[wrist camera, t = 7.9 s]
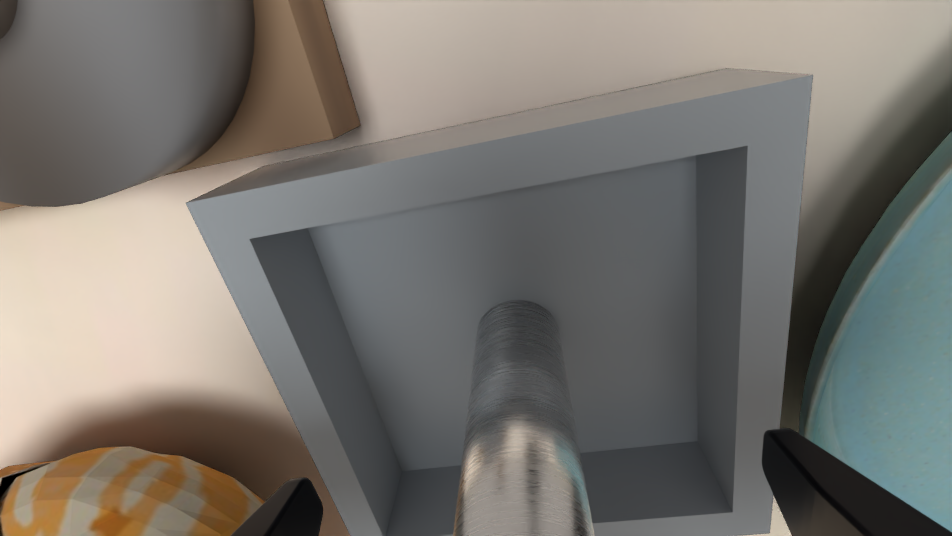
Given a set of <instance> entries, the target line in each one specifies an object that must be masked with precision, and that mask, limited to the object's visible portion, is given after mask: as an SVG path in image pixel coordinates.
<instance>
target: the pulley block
mask: <svg viewBox="0 0 952 536" xmlns="http://www.w3.org/2000/svg"><path fill="white" fill-rule="evenodd" d="M358 126H360V122H359V118H358V115H357V112H356V109H355V105H354V102H353V99H352V96H351V92H350V89H349V86H348V82H347V79H346V76H345V73H344V69H343V66H342V63H341V59H340V56H339V53H338V50H337V46H336V43H335V40H334V37H333V33H332V30H331V27H330V23H329V20H328V17H327V14H326V10H325V7H324V4H323V0H0V211H1V210H5V209H10V208H15V207H19V206H24V205H26V206H47V207H58V206H66V205H73V204H81V203H85V202H88V201H91V200H95V199H98V198H101V197H105V196H107V195H110V194H113V193H116V192H119V191H121V190H124V189H127V188H130V187H132V186H135V185H138V184H141V183H143V182H146V181H149V180H152V179H154V178H157V177H160V176H163V175H168V174H172V173H177V172H182V171H186V170H191V169H196V168H200V167H205V166H210V165H214V164H219V163H223V162H228V161H233V160H237V159H242V158H247V157H251V156H256V155H261V154H265V153H270V152H274V151H279V150H284V149H288V148H293V147H298V146H302V145H307V144H312V143H316V142H321V141H326V140H330V139H334V138H336V137H338V136H340V135H342V134H344V133H346V132H348V131H350V130H352V129H354V128H356V127H358Z"/></svg>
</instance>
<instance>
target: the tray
mask: <svg viewBox="0 0 952 536" xmlns="http://www.w3.org/2000/svg"><path fill="white" fill-rule="evenodd" d="M812 80H813V75H808V74H795V73H782V72H769V71H756V70H743V69H730V68H726V69H722V70H717V71H712V72H707V73H703V74H698V75H693V76H689V77H684V78H679V79H674V80H670V81H665V82H660V83H655V84H651V85H646V86H641V87H636V88H632V89H627V90H622V91H618V92H613V93H608V94H603V95H599V96H594V97H589V98H584V99H580V100H575V101H570V102H565V103H561V104H556V105H551V106H547V107H542V108H537V109H532V110H528V111H523V112H518V113H513V114H509V115H504V116H499V117H495V118H490V119H485V120H480V121H476V122H471V123H466V124H461V125H457V126H452V127H447V128H442V129H438V130H433V131H428V132H424V133H419V134H414V135H409V136H405V137H400V138H395V139H390V140H386V141H381V142H376V143H371V144H367V145H362V146H357V147H353V148H348V149H343V150H338V151H334V152H329V153H324V154H319V155H315V156H310V157H305V158H300V159H296V160H291V161H286V162H282V163H277V164H272V165H267V166H263V167H261V168H258V169H256V170H254V171H252V172H250V173H248V174H246V175H244V176H242V177H239V178H237V179H235V180H233V181H231V182H229V183H227V184H225V185H223V186H220V187H218V188H216V189H214V190H212V191H210V192H208V193H206V194H203V195H201V196H199V197H197V198H195V199H193V200H191V201H189V202H187V203H186V205H187V207H188V209H189V211H190V213H191V215H192V217H193V219H194V221H195V223H196V225H197V227H198V229H199V231H200V233H201V235H202V237H203V239H204V241H205V243H206V245H207V247H208V249H209V251H210V253H211V255H212V257H213V259H214V261H215V263H216V265H217V267H218V269H219V271H220V273H221V275H222V277H223V279H224V281H225V284H226V286H227V288H228V290H229V292H230V294H231V296H232V298H233V300H234V302H235V304H236V306H237V308H238V310H239V312H240V314H241V316H242V318H243V320H244V322H245V324H246V326H247V328H248V330H249V332H250V334H251V336H252V338H253V340H254V342H255V344H256V346H257V348H258V350H259V352H260V354H261V356H262V358H263V360H264V362H265V364H266V366H267V368H268V370H269V372H270V374H271V376H272V378H273V380H274V382H275V384H276V386H277V388H278V390H279V392H280V394H281V397H282V399H283V401H284V403H285V405H286V407H287V409H288V411H289V413H290V415H291V417H292V419H293V421H294V423H295V425H296V427H297V429H298V431H299V433H300V435H301V437H302V439H303V441H304V443H305V445H306V447H307V449H308V451H309V453H310V455H311V457H312V459H313V461H314V463H315V465H316V467H317V469H318V471H319V473H320V475H321V477H322V479H323V481H324V483H325V485H326V487H327V489H328V491H329V493H330V495H331V497H332V499H333V501H334V503H335V505H336V508H337V510H338V512H339V514H340V516H341V518H342V520H343V522H344V524H345V526H346V528H347V530H348V532H349V534H350V536H453V532H454V523H455V514H456V506H457V497H458V489H459V480H460V472H461V463H462V455H463V446H464V438H465V429H466V421H467V412H468V404H469V395H470V387H471V378H472V369H473V361H474V352H475V344H476V335H477V328H478V324H479V322H480V320H481V318H482V317H483V315H484V314H485V313H486V312H487V311H488V310H489V309H491V308H492V307H494V306H495V305H497V304H499V303H502V302H505V301H510V300H525V301H530V302H533V303H536V304H538V305H540V306H542V307H544V308H545V309H546V310H548V311H549V312H550V313H551V314H552V316H553V317H554V319H555V320H556V322H557V325H558V328H559V333H560V339H561V345H562V351H563V356H564V362H565V368H566V374H567V380H568V385H569V391H570V397H571V403H572V409H573V414H574V420H575V426H576V432H577V438H578V443H579V449H580V455H581V461H582V467H583V472H584V478H585V484H586V490H587V495H588V501H589V507H590V513H591V519H592V524H593V530H594V536H739V535H753V534H767V533H770V525H771V514H772V504H773V492H772V490H771V488H770V486H769V484H768V481H767V479H766V477H765V474H764V471H763V468H762V449H763V436H764V433H765V432H766V431H767V430H772V429H780V419H781V408H782V398H783V387H784V377H785V366H786V355H787V345H788V334H789V324H790V313H791V302H792V292H793V281H794V271H795V260H796V249H797V239H798V228H799V218H800V207H801V196H802V186H803V175H804V165H805V154H806V144H807V133H808V122H809V112H810V101H811V91H812Z"/></svg>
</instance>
